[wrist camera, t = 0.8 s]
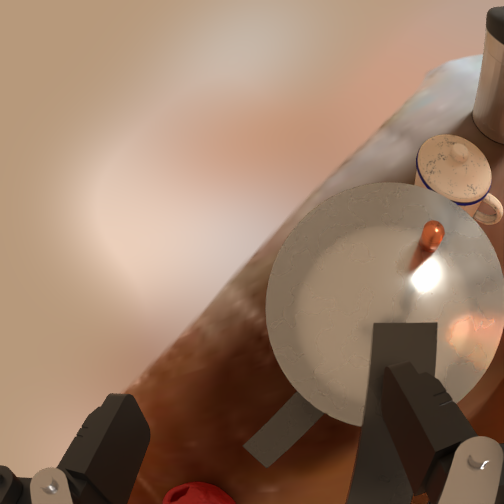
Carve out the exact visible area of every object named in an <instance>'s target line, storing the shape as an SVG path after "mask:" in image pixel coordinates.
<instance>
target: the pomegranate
mask: <svg viewBox="0 0 504 504" xmlns="http://www.w3.org/2000/svg"><path fill="white" fill-rule="evenodd" d="M162 504H236V503H235V501H234V500H233V499H232V498H231V497H230V496H229V495H228V494H227V493H226V492H224V491H223V490H222V489H220V488H219V487H217V486H215V485H212V484H209V483H205V482H199V481H195V482H189V483H185V484H182V485H179V486H176V487H174V488H172V489H171V490H169V491H168V492H167V494H166V495H165V497H164V499H163V502H162Z"/></svg>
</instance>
